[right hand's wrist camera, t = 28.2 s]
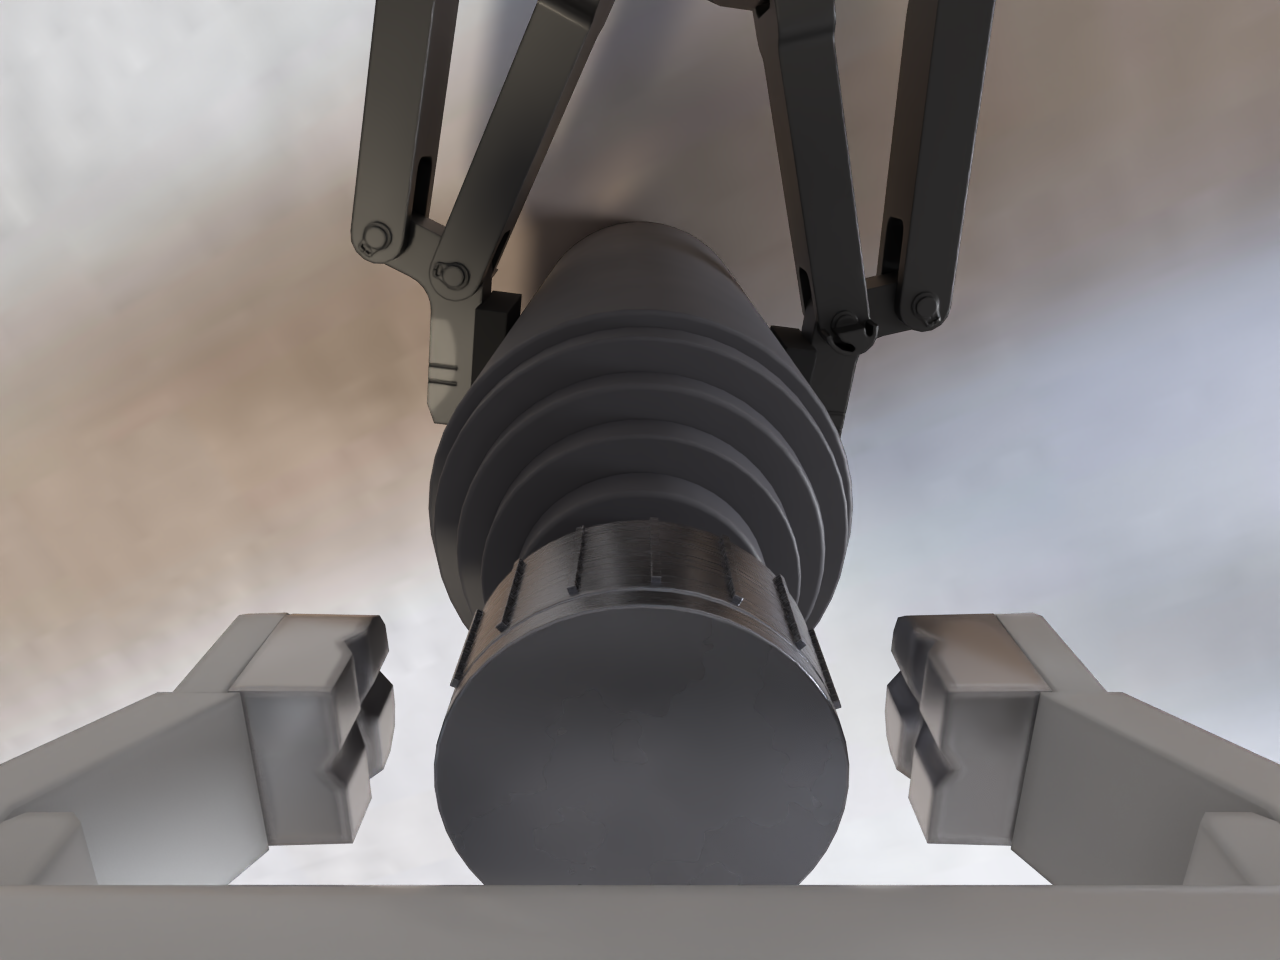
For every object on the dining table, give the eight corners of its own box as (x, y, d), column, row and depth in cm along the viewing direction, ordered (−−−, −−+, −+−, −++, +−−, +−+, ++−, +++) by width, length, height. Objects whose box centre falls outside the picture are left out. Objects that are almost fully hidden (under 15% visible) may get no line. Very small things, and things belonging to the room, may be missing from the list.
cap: (872, 728, 10) (920, 850, 8) (582, 860, 11) (571, 998, 9) (712, 451, 9) (730, 525, 7) (397, 619, 10) (343, 724, 8)
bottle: (785, 299, 28) (1121, 656, 9) (667, 465, 30) (719, 1062, 10) (609, 177, 27) (526, 266, 7) (497, 358, 29) (195, 813, 9)
